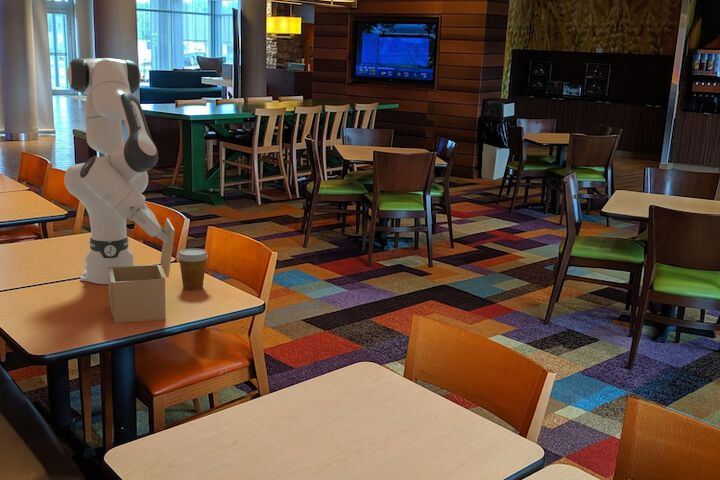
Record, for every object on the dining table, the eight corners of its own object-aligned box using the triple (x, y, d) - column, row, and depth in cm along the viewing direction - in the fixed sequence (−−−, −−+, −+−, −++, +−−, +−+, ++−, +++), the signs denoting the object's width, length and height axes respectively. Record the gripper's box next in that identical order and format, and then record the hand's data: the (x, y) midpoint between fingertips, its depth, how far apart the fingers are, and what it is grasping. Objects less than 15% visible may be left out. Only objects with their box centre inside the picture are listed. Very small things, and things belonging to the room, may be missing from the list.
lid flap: (166, 218, 224) (168, 218, 225) (160, 263, 227) (162, 263, 227) (172, 229, 210) (174, 230, 210) (166, 277, 213) (168, 277, 213)
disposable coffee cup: (193, 281, 252) (193, 246, 250) (213, 287, 247) (213, 251, 244) (171, 287, 245) (171, 251, 242) (192, 293, 239) (191, 257, 237)
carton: (109, 305, 225) (108, 267, 222) (159, 302, 230) (158, 264, 227) (112, 323, 210) (110, 282, 207) (165, 319, 215) (165, 279, 213)
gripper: (141, 203, 203) (178, 237, 209) (135, 190, 221) (169, 222, 227) (124, 220, 202) (162, 253, 208) (120, 205, 221) (154, 237, 227)
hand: (166, 237), depth 218 cm, fingers open, 8 cm apart
